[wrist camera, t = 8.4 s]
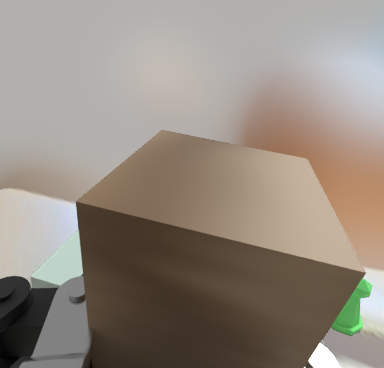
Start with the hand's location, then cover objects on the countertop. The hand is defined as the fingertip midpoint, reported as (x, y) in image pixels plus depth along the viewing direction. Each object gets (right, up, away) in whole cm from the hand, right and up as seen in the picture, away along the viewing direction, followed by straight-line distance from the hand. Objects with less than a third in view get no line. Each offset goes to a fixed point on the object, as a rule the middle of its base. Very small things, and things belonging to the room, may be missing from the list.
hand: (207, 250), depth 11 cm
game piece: (+16, -12, +17) cm, 26 cm away
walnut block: (-1, -7, +1) cm, 7 cm away
